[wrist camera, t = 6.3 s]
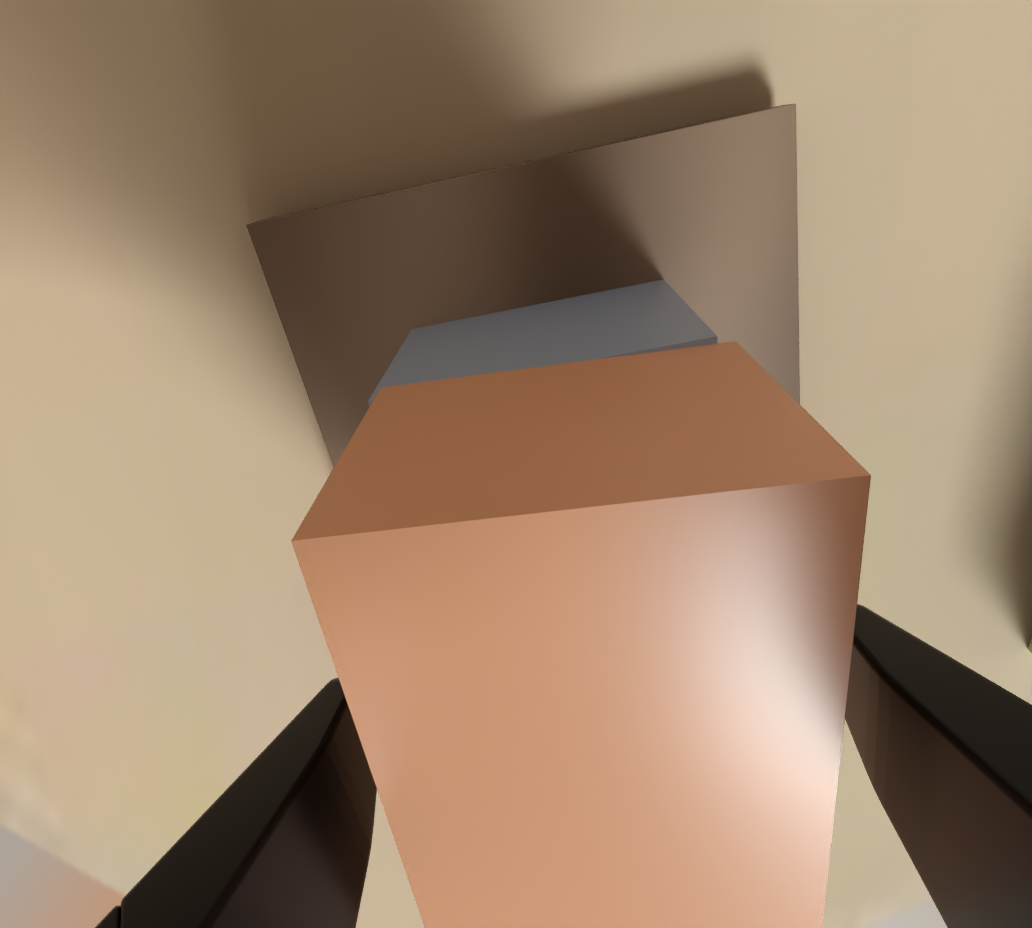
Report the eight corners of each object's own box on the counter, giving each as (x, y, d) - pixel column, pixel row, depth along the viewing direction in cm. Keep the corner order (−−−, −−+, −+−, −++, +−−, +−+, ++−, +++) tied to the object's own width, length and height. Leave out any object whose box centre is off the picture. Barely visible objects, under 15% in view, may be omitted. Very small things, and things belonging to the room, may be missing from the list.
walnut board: (783, 105, 12) (795, 103, 11) (794, 624, 17) (802, 640, 16) (258, 221, 13) (246, 225, 12) (419, 677, 18) (416, 694, 18)
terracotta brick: (735, 340, 9) (870, 474, 6) (734, 710, 12) (819, 951, 9) (381, 387, 9) (291, 541, 6) (465, 734, 13) (440, 973, 9)
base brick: (663, 279, 13) (717, 336, 9) (693, 575, 16) (742, 704, 12) (411, 329, 13) (368, 401, 10) (487, 605, 16) (476, 739, 13)
